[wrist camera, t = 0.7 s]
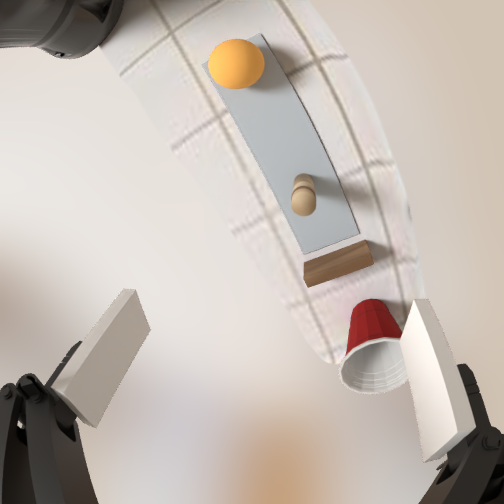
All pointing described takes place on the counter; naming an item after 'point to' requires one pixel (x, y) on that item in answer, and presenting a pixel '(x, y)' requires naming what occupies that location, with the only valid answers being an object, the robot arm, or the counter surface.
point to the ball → (236, 64)
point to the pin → (303, 195)
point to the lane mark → (289, 152)
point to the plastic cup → (373, 351)
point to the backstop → (337, 263)
